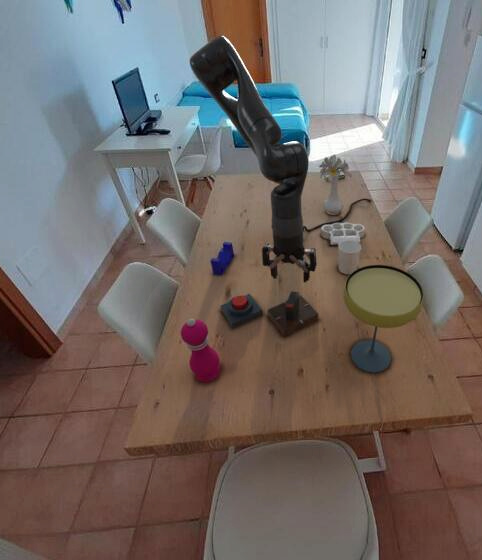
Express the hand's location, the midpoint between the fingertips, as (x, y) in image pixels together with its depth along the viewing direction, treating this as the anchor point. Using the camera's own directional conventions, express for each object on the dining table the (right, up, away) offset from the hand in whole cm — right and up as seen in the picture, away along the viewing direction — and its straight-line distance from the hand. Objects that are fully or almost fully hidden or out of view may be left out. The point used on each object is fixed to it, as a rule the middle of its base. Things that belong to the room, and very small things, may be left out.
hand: (290, 278), depth 91 cm
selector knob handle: (0, -10, +8) cm, 13 cm away
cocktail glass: (+22, -21, 0) cm, 31 cm away
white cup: (+19, +4, +29) cm, 35 cm away
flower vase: (+15, +31, +62) cm, 71 cm away
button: (-16, -8, +10) cm, 20 cm away
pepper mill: (-21, -25, -5) cm, 33 cm away
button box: (-16, -11, +12) cm, 23 cm away
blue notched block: (-27, +5, +31) cm, 42 cm away
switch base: (0, -12, +10) cm, 16 cm away
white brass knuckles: (+19, +18, +46) cm, 52 cm away
